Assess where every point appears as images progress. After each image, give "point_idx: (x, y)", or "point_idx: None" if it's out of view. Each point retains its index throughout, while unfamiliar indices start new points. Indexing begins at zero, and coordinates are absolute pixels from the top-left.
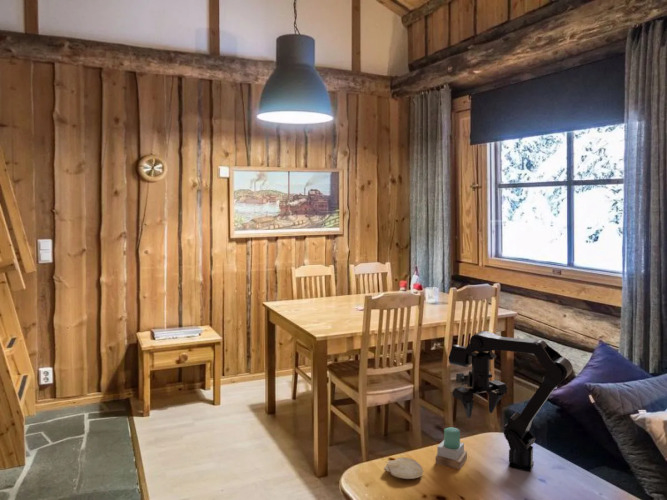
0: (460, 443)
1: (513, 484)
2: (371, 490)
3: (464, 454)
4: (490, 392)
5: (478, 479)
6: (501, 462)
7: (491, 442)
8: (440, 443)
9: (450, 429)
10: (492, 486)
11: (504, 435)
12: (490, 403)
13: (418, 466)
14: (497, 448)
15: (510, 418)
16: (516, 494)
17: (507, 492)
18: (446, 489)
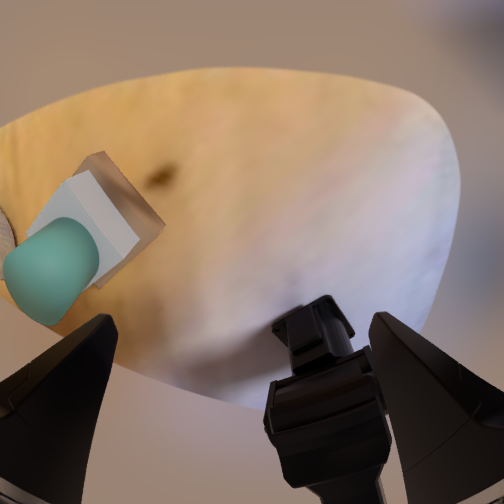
0: (108, 252)
1: (215, 375)
2: None
3: (133, 255)
4: (482, 480)
5: (140, 331)
6: (270, 296)
7: (361, 158)
8: (38, 215)
9: (25, 276)
10: (160, 362)
11: (274, 398)
12: (413, 390)
13: (6, 241)
14: (342, 211)
15: (292, 486)
16: (196, 393)
17: (181, 384)
18: (59, 322)
